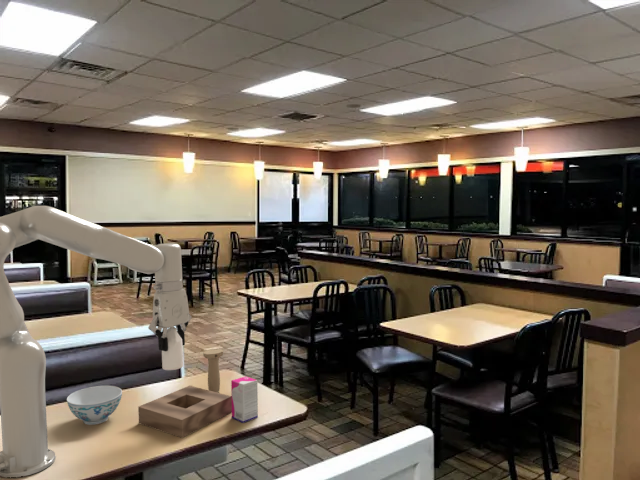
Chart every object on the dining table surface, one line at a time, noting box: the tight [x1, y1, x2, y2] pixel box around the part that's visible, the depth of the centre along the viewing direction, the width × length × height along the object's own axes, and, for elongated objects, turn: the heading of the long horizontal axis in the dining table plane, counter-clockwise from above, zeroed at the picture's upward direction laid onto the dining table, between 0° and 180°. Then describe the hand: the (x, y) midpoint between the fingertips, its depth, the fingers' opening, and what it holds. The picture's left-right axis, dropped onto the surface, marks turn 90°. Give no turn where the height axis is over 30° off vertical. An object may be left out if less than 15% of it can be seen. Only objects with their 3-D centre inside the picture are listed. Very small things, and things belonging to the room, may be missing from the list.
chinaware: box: [66, 385, 123, 426], centre depth 150 cm, size 15×15×8 cm
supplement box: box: [230, 375, 259, 424], centre depth 150 cm, size 6×6×12 cm
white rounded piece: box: [161, 326, 184, 371], centre depth 147 cm, size 6×12×6 cm
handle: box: [202, 348, 224, 393], centre depth 168 cm, size 5×6×15 cm
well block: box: [137, 385, 232, 439], centre depth 151 cm, size 20×18×5 cm
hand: (172, 346), depth 147 cm, fingers closed on white rounded piece, 5 cm apart
